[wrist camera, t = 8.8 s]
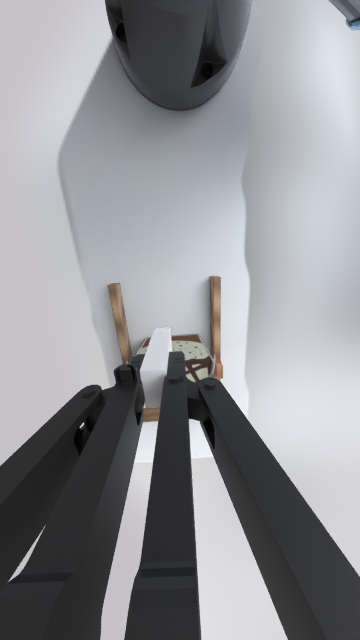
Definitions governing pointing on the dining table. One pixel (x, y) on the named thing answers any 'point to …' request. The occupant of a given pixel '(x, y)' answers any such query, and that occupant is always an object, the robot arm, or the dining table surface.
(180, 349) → the food container
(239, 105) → the dining table surface
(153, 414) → the slot rails
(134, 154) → the dining table surface
